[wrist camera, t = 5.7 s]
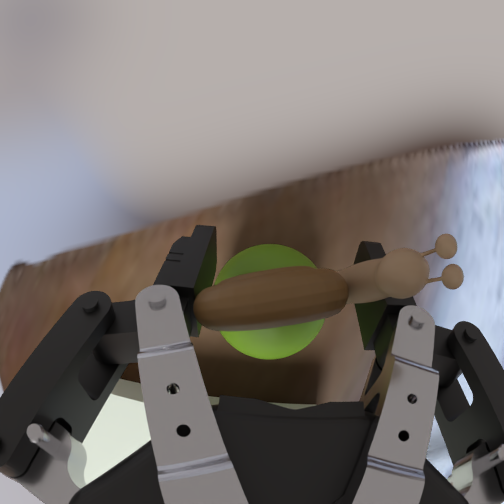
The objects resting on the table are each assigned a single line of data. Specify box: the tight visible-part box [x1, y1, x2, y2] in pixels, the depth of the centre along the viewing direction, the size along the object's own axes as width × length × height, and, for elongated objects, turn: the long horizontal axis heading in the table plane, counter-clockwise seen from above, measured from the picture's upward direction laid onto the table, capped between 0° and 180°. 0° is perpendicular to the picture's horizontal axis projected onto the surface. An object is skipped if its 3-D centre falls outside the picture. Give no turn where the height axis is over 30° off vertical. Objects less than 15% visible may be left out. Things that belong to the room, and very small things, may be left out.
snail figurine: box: [193, 234, 464, 359], centre depth 11 cm, size 5×6×12 cm
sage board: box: [82, 379, 316, 485], centre depth 13 cm, size 16×14×3 cm
